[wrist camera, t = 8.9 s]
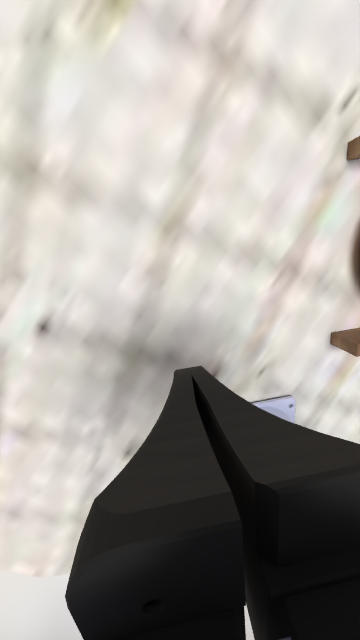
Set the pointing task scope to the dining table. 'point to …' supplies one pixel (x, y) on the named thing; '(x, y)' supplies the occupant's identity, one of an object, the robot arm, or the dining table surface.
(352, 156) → the walnut frame
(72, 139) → the dining table surface
